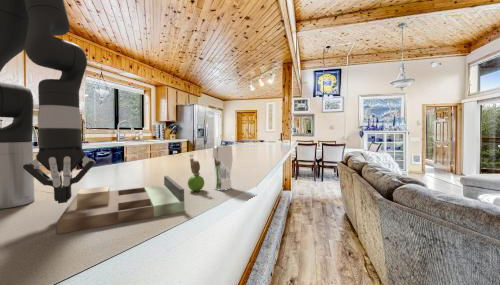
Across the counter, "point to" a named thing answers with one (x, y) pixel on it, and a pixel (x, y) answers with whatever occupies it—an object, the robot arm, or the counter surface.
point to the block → (93, 196)
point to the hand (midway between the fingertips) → (63, 202)
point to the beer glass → (222, 166)
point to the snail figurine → (195, 176)
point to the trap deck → (124, 207)
